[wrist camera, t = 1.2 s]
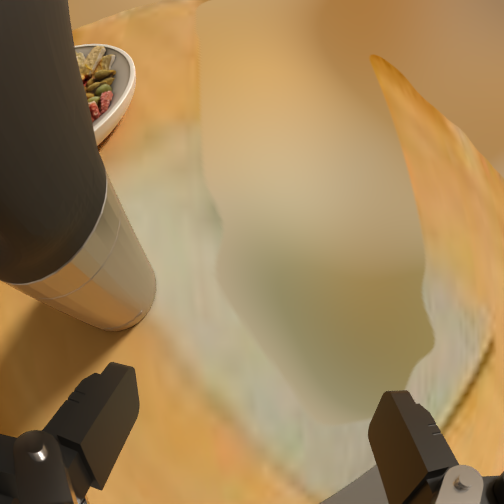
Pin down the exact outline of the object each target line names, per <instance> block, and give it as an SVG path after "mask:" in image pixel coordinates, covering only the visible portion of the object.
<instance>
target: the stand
mask: <svg viewBox="0 0 504 504" xmlns="http://www.w3.org/2000/svg"><path fill="white" fill-rule="evenodd" d="M320 504H389V503H388V499H387V496H386V493H385V489H384V486H383V483H382V480H381V476H380V473H379V470H378V467H377V465H375V466H374V467H373V468H371V469H370V470H369V471H367V472H366V473H365V474H363V475H362V476H361V477H359V478H358V479H356V480H355V481H354V482H352V483H351V484H349V485H348V486H346V487H345V488H343V489H342V490H340V491H339V492H337V493H336V494H334V495H333V496H331V497H329V498H328V499H326V500H325V501H323V502H321V503H320Z"/></svg>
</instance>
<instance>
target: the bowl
mask: <svg viewBox="0 0 504 504" xmlns="http://www.w3.org/2000/svg"><path fill="white" fill-rule="evenodd" d="M74 47H75V52H76V57H77V61H78V66H79V70H80V74H81V78H82V81H83V85H84V89H85V92H86V96H87V100H88V104H89V109H90V113H91V118H92V123H93V129H94V134H95V139H96V143H97V146H98V145H99V144H100V143H101V142H102V141H103V140H104V139H105V138H106V137H107V136H108V135H109V134H110V133H111V132H112V130H113V129H114V128H115V127H116V125H117V124H118V123H119V121H120V120H121V119H122V117H123V116H124V114H125V112H126V110H127V109H128V107H129V105H130V102H131V100H132V97H133V94H134V90H135V84H136V72H135V66H134V63H133V60H132V59H131V57H130V56H129V55H128V54H127V53H126V52H125V51H123V50H121V49H119V48H117V47H114V46H110V45H104V44H85V45H78V46H74Z"/></svg>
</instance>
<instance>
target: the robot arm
mask: <svg viewBox="0 0 504 504" xmlns="http://www.w3.org/2000/svg"><path fill="white" fill-rule="evenodd" d="M0 280H1V281H2V282H4V283H6V284H8V285H10V286H11V287H13V288H15V289H17V290H19V291H21V292H23V293H24V294H26V295H29V296H31V297H33V298H35V299H36V300H38V301H40V302H42V303H44V304H46V305H49V306H51V307H53V308H55V309H57V310H59V311H61V312H63V313H65V314H68V315H70V316H72V317H74V318H76V319H79V320H81V321H83V322H85V323H88V324H90V325H92V326H95V327H97V328H100V329H103V330H107V331H121V330H124V329H127V328H130V327H132V326H134V325H135V324H137V323H138V322H139V321H140V320H142V319H143V318H144V317H145V315H146V314H147V313H148V311H149V310H150V308H151V306H152V303H153V301H154V298H155V293H156V279H155V274H154V271H153V269H152V267H151V264H150V262H149V261H148V259H147V257H146V254H145V252H144V250H143V248H142V246H141V244H140V242H139V240H138V238H137V236H136V234H135V232H134V230H133V228H132V226H131V224H130V222H129V220H128V218H127V216H126V214H125V211H124V209H123V207H122V205H121V203H120V201H119V198H118V196H117V194H116V192H115V190H114V188H113V186H112V183H111V181H110V179H109V176H108V174H107V172H106V169H105V167H104V164H103V162H102V159H101V157H100V154H99V151H98V148H97V143H96V139H95V134H94V129H93V123H92V118H91V113H90V109H89V104H88V100H87V96H86V92H85V89H84V85H83V81H82V78H81V74H80V70H79V66H78V61H77V57H76V52H75V47H74V42H73V36H72V30H71V23H70V15H69V7H68V0H0ZM138 413H139V396H138V389H137V381H136V373H135V369H134V368H133V367H131V366H126V365H122V364H118V363H114V362H110V363H109V364H108V365H107V367H106V368H105V369H104V371H103V372H102V373H101V374H97V373H94V374H92V375H90V376H88V377H87V378H85V379H83V380H82V381H81V382H80V384H79V385H78V386H77V387H76V388H75V390H74V392H72V393H71V395H70V396H69V397H68V400H66V401H65V402H64V404H63V405H62V406H61V407H60V409H59V410H58V411H57V412H56V414H55V415H54V416H53V418H52V419H51V420H50V421H49V423H48V424H47V425H46V427H45V428H44V429H43V430H42V431H39V430H33V431H28V432H25V433H23V434H22V435H20V436H19V437H18V438H15V437H10V436H6V435H2V434H0V504H89V501H88V498H87V496H86V493H87V491H88V489H89V487H90V486H91V487H94V488H96V489H99V490H103V488H104V485H105V483H106V481H107V479H108V477H109V475H110V473H111V471H112V468H113V466H114V464H115V462H116V460H117V458H118V456H119V454H120V452H121V450H122V448H123V446H124V444H125V441H126V439H127V437H128V435H129V433H130V431H131V429H132V427H133V425H134V423H135V421H136V419H137V416H138ZM440 432H441V431H440V429H439V428H438V426H437V425H436V423H435V421H434V419H433V417H432V416H431V414H430V412H428V411H427V410H426V409H425V408H424V407H423V406H421V405H420V404H416V403H415V402H414V400H413V398H412V396H411V395H410V393H409V392H408V391H407V390H403V391H386V392H385V393H384V394H383V396H382V398H381V400H380V402H379V405H378V407H377V409H376V411H375V414H374V416H373V418H372V420H371V422H370V425H369V430H368V438H369V442H370V445H371V448H372V451H373V454H374V457H375V461H376V464H377V467H378V470H379V473H380V476H381V480H382V483H383V486H384V489H385V493H386V496H387V499H388V503H389V504H504V472H503V473H502V474H501V475H500V476H486V477H482V476H481V475H480V473H479V472H478V471H477V470H475V469H474V468H472V467H470V466H466V465H459V464H458V462H457V460H456V458H455V456H454V454H453V453H452V451H451V449H450V447H449V445H448V444H447V442H446V440H445V438H444V436H443V435H442V434H441V433H440Z"/></svg>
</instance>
